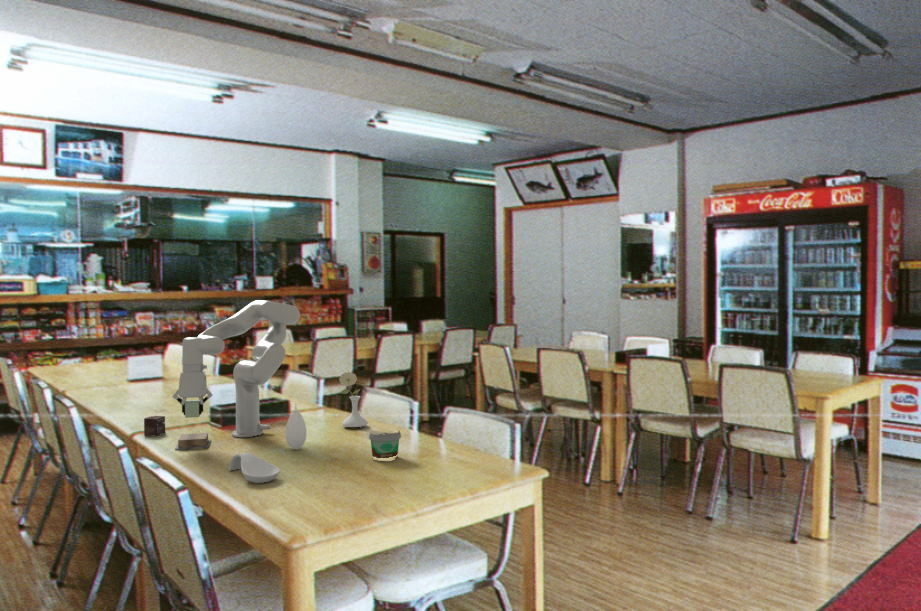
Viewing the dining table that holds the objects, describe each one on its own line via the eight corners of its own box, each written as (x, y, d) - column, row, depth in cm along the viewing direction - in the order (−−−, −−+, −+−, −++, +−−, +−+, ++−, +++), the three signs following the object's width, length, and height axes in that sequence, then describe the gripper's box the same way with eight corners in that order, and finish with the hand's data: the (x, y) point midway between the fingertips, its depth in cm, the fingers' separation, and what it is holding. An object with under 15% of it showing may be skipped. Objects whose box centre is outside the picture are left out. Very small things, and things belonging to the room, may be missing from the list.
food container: (374, 464, 235) (374, 436, 235) (368, 460, 240) (368, 433, 240) (406, 460, 241) (406, 433, 240) (399, 456, 246) (400, 429, 246)
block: (200, 414, 262) (200, 399, 262) (198, 417, 257) (198, 402, 257) (186, 415, 260) (186, 400, 260) (185, 417, 256) (185, 402, 255)
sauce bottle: (281, 450, 252) (281, 404, 252) (293, 445, 260) (293, 401, 259) (298, 452, 250) (298, 406, 249) (310, 447, 257) (310, 402, 256)
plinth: (211, 440, 267) (210, 432, 267) (208, 448, 255) (208, 439, 255) (179, 442, 263) (179, 433, 263) (175, 450, 252) (175, 441, 252)
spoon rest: (286, 481, 216) (286, 459, 215) (254, 489, 207) (254, 467, 206) (248, 467, 231) (248, 447, 231) (217, 474, 222) (217, 453, 222)
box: (156, 436, 274) (156, 419, 274) (143, 435, 275) (143, 418, 275) (165, 433, 280) (165, 416, 280) (153, 432, 281) (153, 415, 281)
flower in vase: (370, 424, 299) (370, 370, 298) (364, 430, 287) (364, 374, 286) (342, 423, 300) (342, 369, 299) (335, 429, 289) (335, 373, 288)
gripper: (216, 366, 264) (216, 411, 265) (170, 367, 259) (170, 413, 260) (214, 369, 257) (214, 415, 257) (167, 370, 252) (167, 417, 253)
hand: (192, 413), depth 259 cm, fingers closed on block, 5 cm apart
